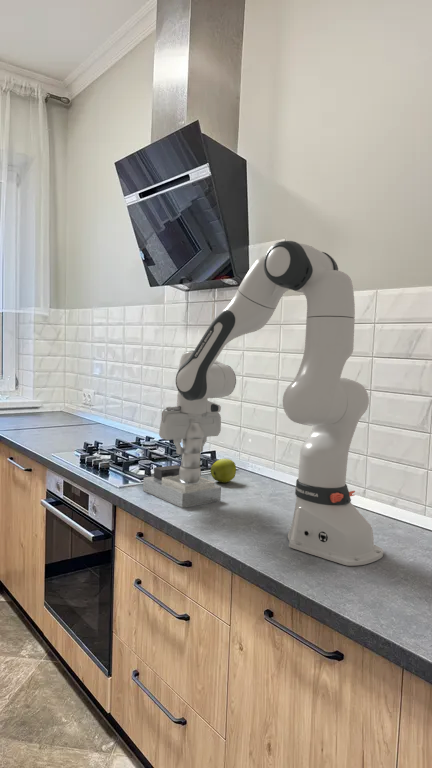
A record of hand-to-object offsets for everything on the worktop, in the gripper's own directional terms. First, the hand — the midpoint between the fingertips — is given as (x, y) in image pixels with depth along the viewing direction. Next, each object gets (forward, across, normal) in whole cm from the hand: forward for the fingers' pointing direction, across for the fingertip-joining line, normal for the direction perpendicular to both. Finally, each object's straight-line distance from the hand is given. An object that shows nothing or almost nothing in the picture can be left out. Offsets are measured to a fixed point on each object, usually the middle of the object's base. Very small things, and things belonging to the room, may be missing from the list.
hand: (189, 452), depth 156 cm
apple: (+14, +22, +9) cm, 28 cm away
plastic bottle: (+9, 0, -1) cm, 9 cm away
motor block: (+13, 0, +5) cm, 14 cm away
